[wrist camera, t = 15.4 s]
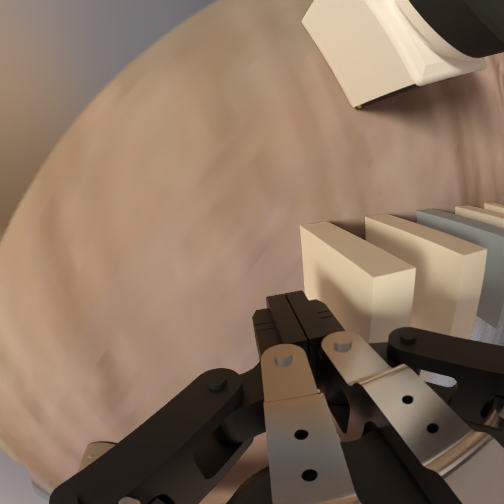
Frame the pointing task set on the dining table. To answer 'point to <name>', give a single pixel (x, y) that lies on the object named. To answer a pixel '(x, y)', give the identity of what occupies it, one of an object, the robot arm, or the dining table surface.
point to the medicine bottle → (403, 42)
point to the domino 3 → (481, 215)
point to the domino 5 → (494, 207)
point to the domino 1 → (357, 281)
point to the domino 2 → (434, 272)
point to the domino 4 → (497, 261)
